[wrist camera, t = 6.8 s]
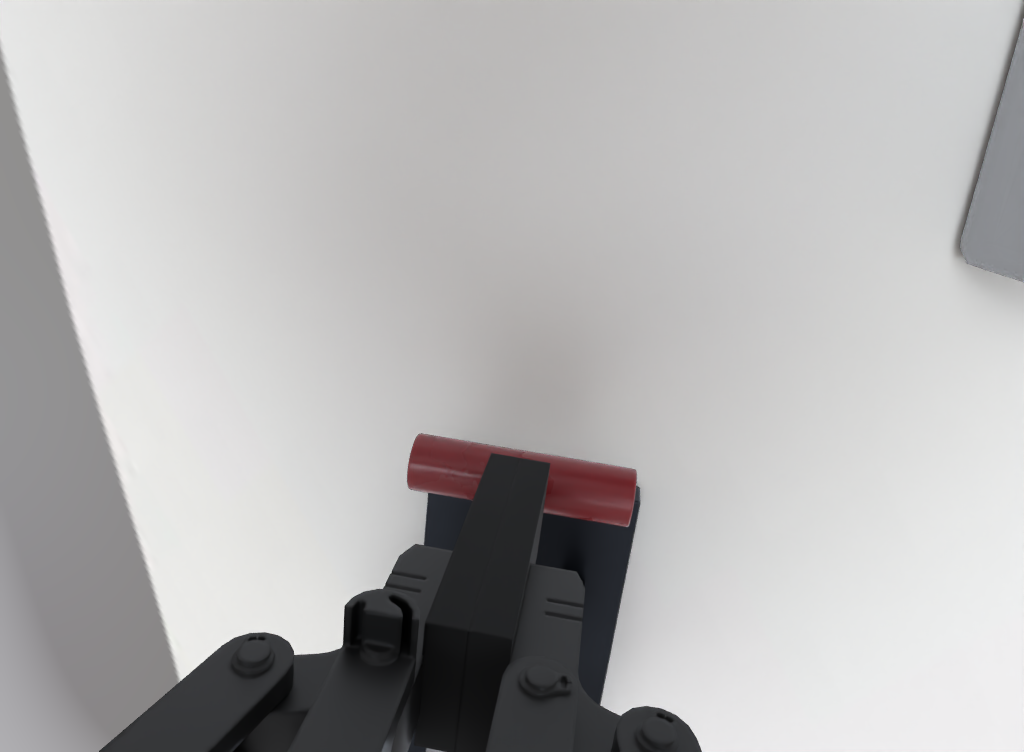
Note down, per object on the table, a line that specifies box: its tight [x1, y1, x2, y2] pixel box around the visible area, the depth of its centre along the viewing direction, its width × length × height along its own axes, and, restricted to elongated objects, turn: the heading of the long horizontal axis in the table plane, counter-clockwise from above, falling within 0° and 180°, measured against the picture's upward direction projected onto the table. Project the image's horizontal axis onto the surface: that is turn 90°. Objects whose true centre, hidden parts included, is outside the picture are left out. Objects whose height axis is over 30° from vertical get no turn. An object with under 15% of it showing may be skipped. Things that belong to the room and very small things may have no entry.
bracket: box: [408, 487, 640, 752], centre depth 25 cm, size 12×8×15 cm, turn 173°
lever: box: [407, 433, 637, 527], centre depth 20 cm, size 13×6×2 cm, turn 174°
